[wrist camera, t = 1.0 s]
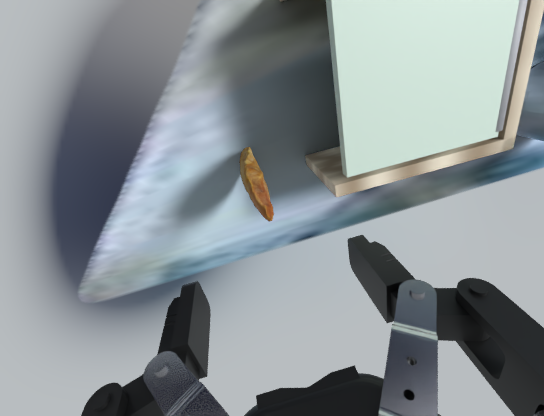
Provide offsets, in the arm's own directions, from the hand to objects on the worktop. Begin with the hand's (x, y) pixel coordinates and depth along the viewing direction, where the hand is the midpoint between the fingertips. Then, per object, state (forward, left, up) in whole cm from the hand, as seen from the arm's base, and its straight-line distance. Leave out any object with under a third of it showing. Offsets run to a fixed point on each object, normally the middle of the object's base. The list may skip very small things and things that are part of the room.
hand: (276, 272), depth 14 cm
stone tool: (0, 0, -20) cm, 20 cm away
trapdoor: (-15, -6, -11) cm, 20 cm away
